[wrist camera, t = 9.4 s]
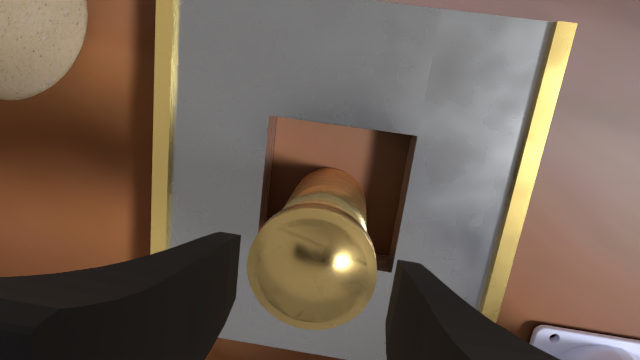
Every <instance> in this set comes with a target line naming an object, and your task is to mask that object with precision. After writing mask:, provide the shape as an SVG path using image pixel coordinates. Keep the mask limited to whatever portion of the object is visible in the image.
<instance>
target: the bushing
mask: <svg viewBox="0 0 640 360" xmlns="http://www.w3.org/2000/svg"><path fill="white" fill-rule="evenodd" d="M247 274H248V280H249V283H250V286H251V289H252V291H253V293H254V295H255V297H256V298H257V300H258V301H259V303H260V304H261V305H262V306H263V307H264V308H265V309H266V310H267V311H268V312H269V313H270V314H271V315H273V316H274V317H275V318H277V319H278V320H280V321H282V322H284V323H286V324H288V325H291V326H294V327H297V328H302V329H308V330H323V329H330V328H334V327H337V326H340V325H342V324H345V323H347V322H348V321H350V320H352V319H353V318H354V317H356V316H357V315H358V314H359V313H360V312H361V311H362V310H363V309H364V308H365V307H366V306H367V304H368V303H369V301H370V299H371V297H372V295H373V293H374V290H375V286H376V282H377V263H376V254H375V249H374V246H373V243H372V241H371V239H370V237H369V235H368V233H367V219H366V199H365V194H364V191H363V189H362V187H361V186H360V184H359V183H358V182H357V180H356V179H355V178H353V177H352V176H351V175H350V174H348V173H346V172H344V171H342V170H339V169H334V168H323V169H318V170H315V171H313V172H311V173H309V174H308V175H306V176H305V177H304V178H303V179H302V180H301V181H300V182H299V184H298V185H297V187H296V188H295V190H294V192H293V193H292V195H291V196H290V198H289V200H288V201H287V203H286V205H285V206H284V208H283V210H281V211H279V212H278V213H276V214H275V215H273V216H272V217H271V218H270V219H269V220H268V221H267V222H266V223H265V224H264V225H263V227H262V228H261V230H260V231H259V233H258V234H257V236H256V237H255V239H254V240H253V243H252V245H251V247H250V250H249V253H248V259H247Z"/></svg>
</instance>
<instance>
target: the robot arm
mask: <svg viewBox="0 0 640 360" xmlns="http://www.w3.org/2000/svg"><path fill="white" fill-rule="evenodd" d="M240 243H241V235H238V234H232V233H226V232H216V233H213V234H209V235H206V236H203V237H201V238H198V239H195V240H192V241H189V242H187V243H184V244H181V245H178V246H176V247H173V248H170V249H167V250H163V251H160V252H157V253H154V254H151V255H147V256H144V257H141V258H137V259H134V260H130V261H126V262H121V263H117V264H112V265H107V266H103V267H97V268H90V269H84V270H77V271H70V272H63V273H55V274H45V275H33V276H18V277H0V360H205V358H206V356H207V355H208V353H209V351H210V350H211V348H212V346H213V345H214V343H215V341H216V339H217V338H218V336H219V334H220V333H221V331H222V329H223V327H224V325H225V323H226V321H227V318H228V316H229V314H230V311H231V309H232V306H233V304H234V301H235V299H236V291H237V279H238V267H239V255H240ZM385 332H386V356H387V360H640V340H634V339H628V338H622V337H616V336H609V335H603V334H597V333H591V332H585V331H579V330H573V329H567V328H560V327H554V326H548V325H539V326H537V327H536V328H535V329H534V331H533V333H532V337H531V340H530V343H527V342H526V341H524V340H522V339H520V338H519V337H517V336H515V335H514V334H512V333H510V332H509V331H507V330H506V329H504V328H502V327H501V326H499V325H498V324H496V323H495V322H493V321H492V320H490V319H489V318H487V317H486V316H484V315H483V314H482V313H480V312H479V311H478V310H476V309H475V308H474V307H472V306H471V305H470V304H468V303H467V302H466V301H465V300H463V299H462V298H461V297H460V296H458V295H457V294H456V293H455V292H454V291H452V290H451V289H450V288H449V287H448V286H447V285H445V284H444V283H443V282H442V281H441V280H440V279H439V278H437V277H436V276H435V275H434V274H433V273H432V272H431V271H429V270H428V269H427V268H426V267H424V266H423V265H422V264H420V263H416V262H410V261H404V260H397V265H396V270H395V275H394V280H393V286H392V291H391V296H390V301H389V306H388V312H387V317H386V322H385ZM552 334H556V335H555V337H553V338H549V337H550V336H551V335H552Z"/></svg>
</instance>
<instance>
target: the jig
mask: <svg viewBox="0 0 640 360" xmlns="http://www.w3.org/2000/svg"><path fill="white" fill-rule="evenodd" d="M577 24H578V23H570V22H561V21H556V22H549V21H541V20H532V19H524V18H515V17H507V16H499V15H490V14H482V13H473V12H465V11H457V10H448V9H440V8H431V7H423V6H415V5H406V4H398V3H389V2H381V1H373V0H156V20H155V65H154V111H153V156H152V202H151V248H150V255H151V254H154V253H157V252H160V251H163V250H167V249H170V248H173V247H176V246H178V245H181V244H184V243H187V242H189V241H192V240H195V239H198V238H201V237H203V236H206V235H209V234H213V233H216V232H226V233H232V234H238V235H241V243H240V255H239V267H238V279H237V291H236V299H235V301H234V304H233V306H232V309H231V311H230V314H229V316H228V318H227V321H226V323H225V325H224V327H223V329H222V331H221V333H220V334H219V336H218V338H224V339H230V340H235V341H241V342H247V343H253V344H259V345H264V346H270V347H276V348H282V349H287V350H293V351H299V352H305V353H310V354H316V355H322V356H328V357H334V358H339V359H345V360H387V356H386V332H385V322H386V317H387V312H388V306H389V301H390V296H391V291H392V286H393V280H394V275H395V270H396V265H397V260H404V261H410V262H416V263H420V264H422V265H423V266H424V267H426V268H427V269H428V270H429V271H431V272H432V273H433V274H434V275H435V276H436V277H437V278H439V279H440V280H441V281H442V282H443V283H444V284H445V285H447V286H448V287H449V288H450V289H451V290H452V291H454V292H455V293H456V294H457V295H458V296H460V297H461V298H462V299H463V300H465V301H466V302H467V303H468V304H470V305H471V306H472V307H474V308H475V309H476V310H478V311H479V312H480V313H482V314H483V315H484V316H486V317H487V318H489V319H490V320H492V321H493V322H495V323H496V322H497V318H498V315H499V311H500V307H501V304H502V300H503V296H504V293H505V289H506V285H507V282H508V278H509V274H510V270H511V267H512V263H513V259H514V256H515V252H516V248H517V245H518V241H519V237H520V234H521V230H522V226H523V223H524V219H525V215H526V212H527V208H528V204H529V201H530V197H531V193H532V190H533V186H534V182H535V178H536V175H537V171H538V167H539V164H540V160H541V156H542V153H543V149H544V145H545V142H546V138H547V134H548V131H549V127H550V123H551V120H552V116H553V112H554V109H555V105H556V101H557V98H558V94H559V90H560V86H561V83H562V79H563V75H564V72H565V68H566V64H567V61H568V57H569V53H570V50H571V46H572V42H573V39H574V35H575V31H576V28H577ZM277 116H278V117H285V118H292V119H299V120H306V121H314V122H321V123H328V124H335V125H343V126H350V127H357V128H364V129H371V130H379V131H386V132H393V133H400V134H408V135H411V139H410V145H409V150H408V155H407V161H406V166H405V171H404V177H403V182H402V188H401V193H400V198H399V204H398V209H397V215H396V220H395V225H394V231H393V236H392V242H391V247H390V252H389V256H386V255H380V254H376V263H377V282H376V286H375V290H374V293H373V295H372V297H371V299H370V301H369V303H368V304H367V306H366V307H365V308H364V309H363V310H362V311H361V312H360V313H359V314H358V315H357V316H356V317H354V318H353V319H352V320H350V321H348V322H347V323H345V324H342V325H340V326H337V327H334V328H330V329H323V330H308V329H302V328H297V327H294V326H291V325H288V324H286V323H284V322H282V321H280V320H278V319H277V318H275V317H274V316H273V315H271V314H270V313H269V312H268V311H267V310H266V309H265V308H264V307H263V306H262V305H261V304H260V303H259V301H258V300H257V298H256V297H255V295H254V293H253V291H252V289H251V286H250V283H249V280H248V274H247V259H248V253H249V250H250V247H251V245H252V243H253V240H254V239H255V237H256V236H257V234H258V233H259V231H260V230H261V228H262V227H263V225H264V224H265V223H266V222H267V212H268V202H269V192H270V182H271V172H272V162H273V151H274V141H275V131H276V121H277Z"/></svg>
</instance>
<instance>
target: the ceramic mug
mask: <svg viewBox="0 0 640 360" xmlns="http://www.w3.org/2000/svg"><path fill="white" fill-rule="evenodd" d="M87 22H88V10H87V2H86V0H0V100H10V101H13V100H22V99H26V98H29V97H33V96H35V95H37V94H39V93H42V92H43V91H45V90H47V89H48V88H50V87H51V86H53V85H54V84H55V83H56V82H58V81H59V80H60V79H61V78H62V77H63V76H64V75H65V74H66V73H67V71H68V70H69V69H70V68H71V66H72V65H73V63H74V62H75V60H76V58H77V56H78V54H79V52H80V50H81V48H82V45H83V42H84V39H85V34H86V28H87Z"/></svg>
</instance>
